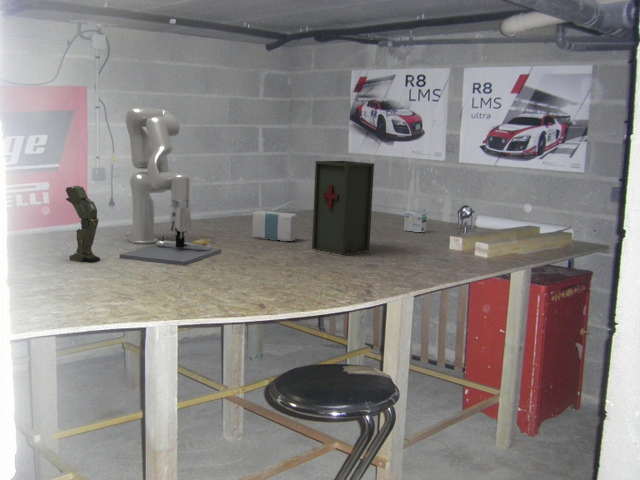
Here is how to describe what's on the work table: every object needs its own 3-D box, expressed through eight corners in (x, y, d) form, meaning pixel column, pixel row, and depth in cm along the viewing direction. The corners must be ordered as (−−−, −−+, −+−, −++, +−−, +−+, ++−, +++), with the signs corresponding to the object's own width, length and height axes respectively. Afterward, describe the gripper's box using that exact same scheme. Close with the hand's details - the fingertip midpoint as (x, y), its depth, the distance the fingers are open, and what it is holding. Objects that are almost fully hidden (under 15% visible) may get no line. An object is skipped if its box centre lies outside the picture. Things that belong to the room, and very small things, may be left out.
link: (154, 246, 289) (154, 234, 288) (159, 244, 294) (159, 233, 293) (206, 250, 284) (207, 239, 283) (211, 249, 288) (211, 237, 288)
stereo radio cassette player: (251, 238, 330) (252, 197, 327) (259, 236, 337) (260, 196, 334) (290, 243, 322) (292, 201, 319) (297, 240, 330) (299, 199, 327)
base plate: (119, 258, 270) (119, 254, 270) (161, 246, 300) (161, 242, 300) (184, 265, 262) (184, 261, 261) (221, 252, 292) (221, 248, 291)
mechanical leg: (110, 258, 264) (94, 182, 261) (98, 262, 257) (81, 183, 254) (81, 263, 268) (65, 188, 266) (69, 266, 262) (52, 190, 259)
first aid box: (369, 251, 308) (374, 163, 302) (342, 256, 295) (347, 163, 288) (338, 245, 320) (342, 160, 314) (311, 249, 307) (315, 161, 300)
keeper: (192, 251, 283) (192, 241, 282) (203, 247, 292) (203, 238, 291) (199, 252, 282) (199, 242, 281) (210, 248, 291) (210, 239, 290)
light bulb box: (426, 232, 375) (427, 213, 373) (421, 233, 369) (422, 214, 368) (408, 230, 381) (409, 211, 379) (403, 231, 375) (404, 212, 373)
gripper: (178, 206, 274) (178, 250, 277) (197, 203, 288) (196, 245, 291) (162, 204, 277) (162, 249, 280) (181, 201, 291) (181, 243, 294)
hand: (179, 247), depth 286 cm, fingers closed
